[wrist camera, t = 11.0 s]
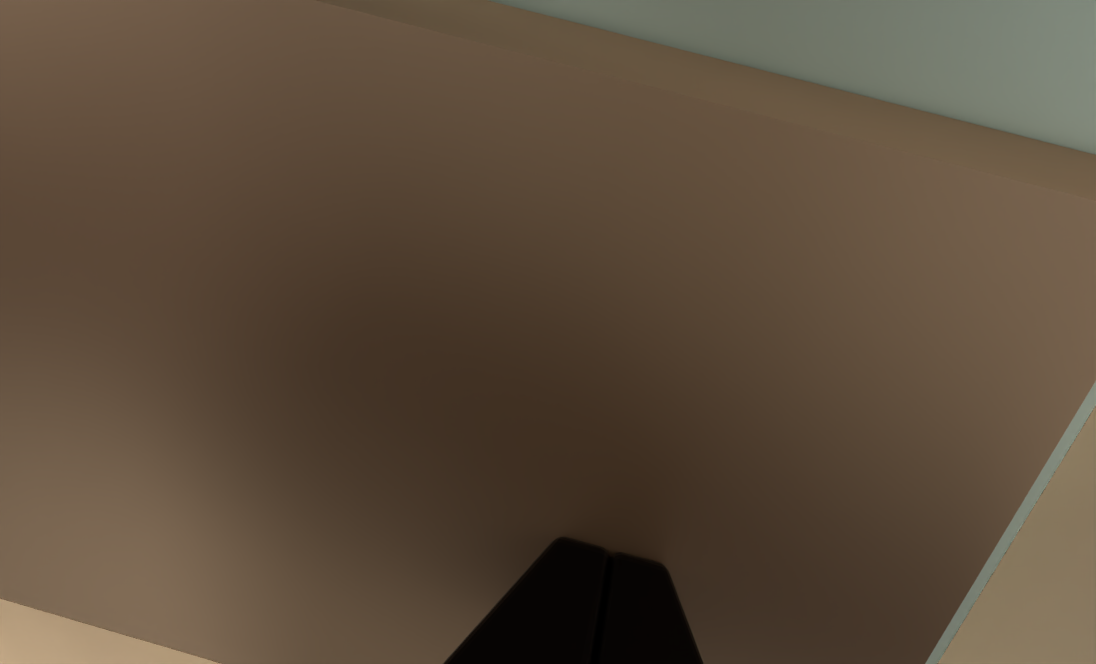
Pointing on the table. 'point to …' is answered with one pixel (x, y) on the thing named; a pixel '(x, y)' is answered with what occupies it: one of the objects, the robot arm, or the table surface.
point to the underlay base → (901, 85)
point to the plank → (507, 330)
